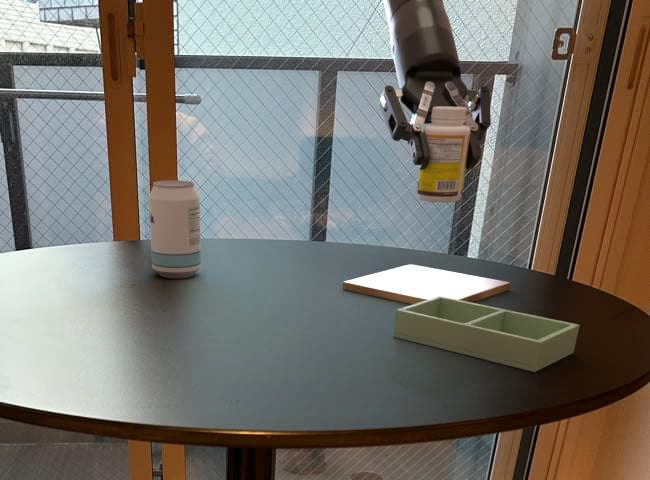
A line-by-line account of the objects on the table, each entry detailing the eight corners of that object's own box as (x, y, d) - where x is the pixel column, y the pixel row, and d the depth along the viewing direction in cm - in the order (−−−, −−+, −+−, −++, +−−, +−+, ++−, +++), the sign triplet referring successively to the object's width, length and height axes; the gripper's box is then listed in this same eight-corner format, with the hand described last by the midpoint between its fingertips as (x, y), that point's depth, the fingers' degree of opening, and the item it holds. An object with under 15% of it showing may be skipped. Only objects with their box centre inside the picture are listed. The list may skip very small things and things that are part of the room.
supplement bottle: (433, 195, 104) (444, 105, 98) (470, 200, 100) (483, 107, 95) (406, 199, 101) (416, 106, 95) (443, 204, 97) (455, 109, 92)
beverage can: (156, 268, 118) (152, 179, 112) (203, 269, 117) (201, 180, 111) (148, 279, 112) (144, 186, 106) (198, 280, 111) (196, 186, 105)
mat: (409, 271, 118) (410, 264, 117) (509, 289, 108) (510, 282, 108) (342, 289, 108) (342, 281, 107) (445, 311, 98) (446, 303, 98)
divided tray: (435, 321, 94) (439, 295, 93) (573, 353, 84) (579, 324, 83) (393, 336, 89) (396, 309, 87) (534, 372, 79) (540, 342, 77)
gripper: (378, 22, 96) (402, 143, 92) (489, 24, 98) (518, 142, 94) (360, 73, 103) (382, 186, 99) (464, 74, 105) (490, 185, 102)
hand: (448, 164), depth 97 cm, fingers closed on supplement bottle, 5 cm apart
